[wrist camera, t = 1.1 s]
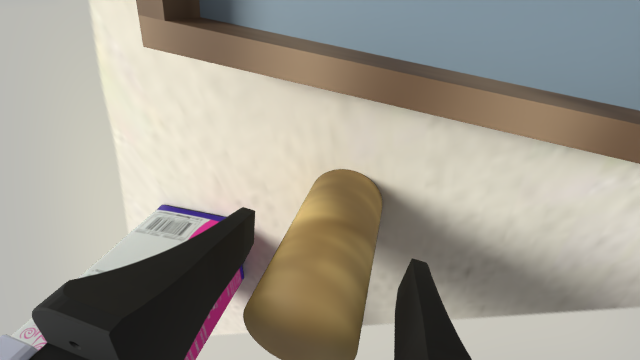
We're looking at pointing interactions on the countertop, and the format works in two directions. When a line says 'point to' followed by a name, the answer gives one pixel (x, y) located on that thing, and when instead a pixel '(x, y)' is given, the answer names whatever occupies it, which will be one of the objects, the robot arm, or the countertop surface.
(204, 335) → the supplement box
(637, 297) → the countertop surface
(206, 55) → the tray
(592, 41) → the bore plate
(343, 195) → the peg
